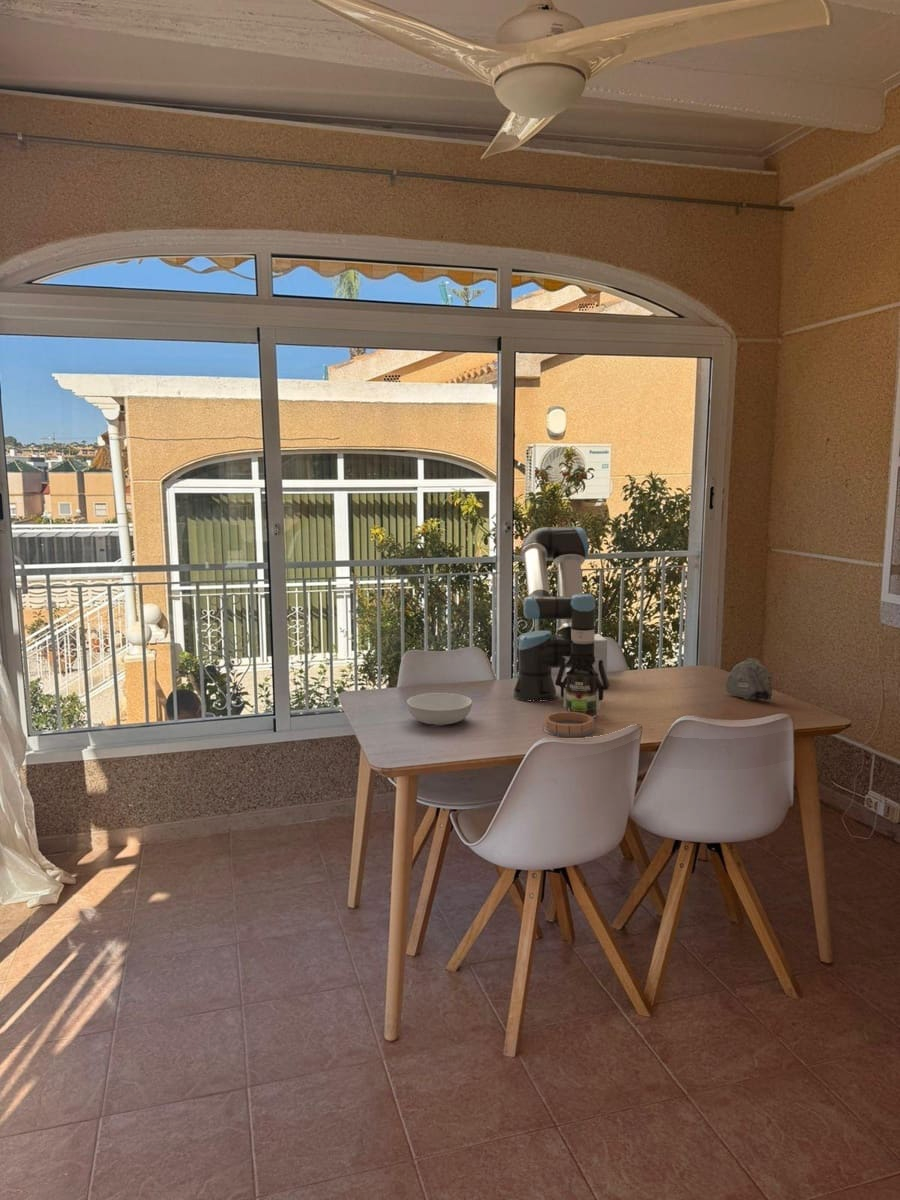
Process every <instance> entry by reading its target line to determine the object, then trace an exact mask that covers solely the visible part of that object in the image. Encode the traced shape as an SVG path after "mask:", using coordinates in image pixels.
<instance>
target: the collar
mask: <svg viewBox="0 0 900 1200" xmlns="http://www.w3.org/2000/svg"><path fill="white" fill-rule="evenodd" d="M543 722H544V723H543V724H542V729H543V728H544V729H545V730H546V731H548V732H549V733H551V734H554V735H553V736H555V735H559V736H558V737H562V738H582V737H587V736H591V735H593V734H594V733H595V732H596V725H595V718H592V717H591V716H590V715H587V714H583V713H578V712H566V711H556V712H552V713H548V714H546V715H545V716H544V718H543ZM551 734H550V735H551Z"/></svg>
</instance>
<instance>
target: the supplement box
mask: <svg viewBox="0 0 900 1200" xmlns="http://www.w3.org/2000/svg"><path fill="white" fill-rule="evenodd" d="M594 639H595V645H594V657H595V659H604V669H605V672H606V676H607V672H608V671H607V670H608V666H607V665H608V639H606V638H605V637H603V636H602V635H601V634H600V633H594ZM592 666H593V668H594V671H595V672H597V673H598V678H599V680H600V682H601V683H602V685H603V682H602V679H601V675H600V672H599V667H598V666H597V664H596V662H594V664H593V665H592ZM570 669H571V668H565V677H566V676H567V675H566V673H567V672H568V671H570ZM576 670H577V669H576ZM607 677H608V676H607Z"/></svg>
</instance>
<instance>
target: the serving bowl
mask: <svg viewBox="0 0 900 1200" xmlns="http://www.w3.org/2000/svg"><path fill="white" fill-rule="evenodd" d="M406 705H407V710H408V712H409V714H410V716H411V717H412V718H414V719H415V720H416V721H419V722H420V723H424V724H427V725H431V724H434V725H433V726H446V725H445V724H447V725H452V724H455V723H458V722H461V721H463V720H464V719H465V718H466V717H467V716H468V715H469V714H470V712H471V709H472V705H473V700H472V699H471V698H470V697H468V696H465V695H462V694H458V693H450V692H430V693H429V692H428V693H420V694H417V695H414V696H411V697H409V698H408V699H407V700H406Z"/></svg>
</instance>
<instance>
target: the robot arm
mask: <svg viewBox="0 0 900 1200" xmlns="http://www.w3.org/2000/svg"><path fill="white" fill-rule="evenodd" d="M589 549H590V548H589V540H588V535H587V532H586V531H585V529H584V528H583V527H581V526H574V525H573V526H572V525H571V526H542V527H538V528H536V529H534V530H532V531H531V532H529V533H528V534H527V536H526V537H525V538H524V540H523V541H522V544H521V547H520V557H521V560H522V561H523V562H524V568H525V569H524V570H525V578H526V587H527V595H528V596H525V597H524V598H523V616H524V618H525V619H528V620H560V626H559V628H558V629H557V630H556V634H553V632H552V631H551V630H534V631H528V632H524V633H523V634H521V635H520V637H519V639H518V647H517V649H518V676H517V679H516V682H515V685H514V688H513V697H514V696H515V697H517V698H519V699H523V700H531V701H530V702H532V701H533V700H534V701H540V700H542V701H540V702H544V701H543V700H549V701H551V699H552V700H555V699H556V698H557V689H556V687H555V686H558V687H560V697H561V698H563V708H565V709H566V686H567V676H566V675H565V678H564V679H563V676H564V672H565V671H566V668H571V669H570V671H569V674H572V673H574V671H575V670H576V669H577V670H584V671H586V670H587V671H588V672H589V673H590V675H592V676H594V675H596V672H595V671H594V668H593V666H592V665H593V664H594V662H596V664H597V666H598V667H599V672H600V675H601V679H602V682H603V685H602V683H601V682H600V680H599V678H596V686H597V691H596V711H597V712H599V711H600V709H601V701H603V699H604V691H606V690H608V689H609V688H610V684H609V680H608V676H606V672H605V669H604V659H595V657H594V645H595V639H594V634H596V633H595V631H596V630H595V616H596V615H595V614H596V600H595V595H594V594H590V593H583V579H582V565H583V564H585V560H586V558H588V557H589V552H590V551H589ZM546 559H552V563H553V564H554V565H555V566H556V567H557V580H558V583H557V584H558V596H551V590H550V583H549V577H548V570H547V569H548V568H547V562H546V561H547V560H546ZM552 669H559V671H558V673H557V677H556V680H555V683H554V679H553V676H552ZM562 679H563V681H562ZM515 697H514V698H515ZM555 697H556V698H555ZM554 698H555V699H554ZM519 699H518V700H519ZM523 700H522V701H523Z"/></svg>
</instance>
